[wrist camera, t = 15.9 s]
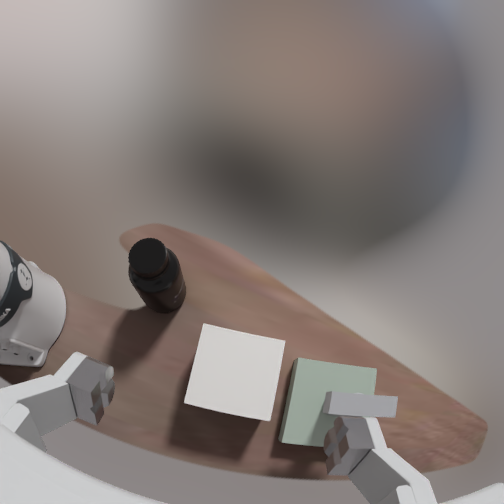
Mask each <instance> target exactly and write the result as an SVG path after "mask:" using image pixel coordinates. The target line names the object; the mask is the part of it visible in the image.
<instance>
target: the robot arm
mask: <svg viewBox="0 0 504 504" xmlns="http://www.w3.org/2000/svg"><path fill="white" fill-rule="evenodd" d="M65 315H66V301H65V296H64V292H63V290H62V287H61V286H60V284H59V283H58V282H57V280H56V279H55V278H53V277H52V276H50V275H48V274H46V273H44V272H42V271H41V270H40V269H39V267H38V266H37V265H36V264H35V263H33V262H27V261H26V260H25V259H23V258H22V257H20V256H19V255H18V254H17V253H16V252H15V251H14V250H12V248H11V247H10V246H9V245H7V244H6V243H4V242H2V241H0V364H5V365H16V366H31V367H41V366H42V365H43V364H44V362H45V360H46V357H47V353H48V350H49V349H50V347H51V346H52V344H53V343H54V342H55V341H56V339H57V338H58V336H59V334H60V332H61V330H62V327H63V324H64V321H65ZM32 357H33V360H32ZM113 375H114V371H113V367H112V366H110V365H107V364H105V363H103V362H100V361H98V360H96V359H93V358H91V357H89V356H86V355H84V354H81V353H79V352H75V353H73V354H72V355H71V356H70V358H69V359H68V360H67V361H66V362H65V363H64V364H63V365H62V367H61V368H60V369H59V370H58V371H57V372H56V373H55V375H54V376H52V375H47V376H44V377H40V378H37V379H33V380H30V381H26V382H23V383H19V384H15V385H12V386H8V387H4V388H0V504H168V503H164V502H161V501H157V500H154V499H151V498H147V497H144V496H141V495H138V494H135V493H132V492H129V491H127V490H124V489H121V488H119V487H116V486H114V485H111V484H109V483H106V482H104V481H101V480H99V479H97V478H94V477H92V476H90V475H88V474H86V473H84V472H82V471H80V470H77V469H75V468H73V467H71V466H69V465H68V464H66V463H64V462H62V461H60V460H58V459H56V458H54V457H53V456H51V455H49V454H47V453H46V451H47V449H46V446H45V444H44V442H43V440H42V438H41V436H43V435H45V434H47V433H49V432H51V431H53V430H55V429H57V428H59V427H61V426H63V425H65V424H67V423H69V422H71V421H73V420H75V419H77V417H78V418H80V419H82V420H85V421H87V422H89V423H92V424H94V425H98V423H99V422H100V420H101V418H102V416H103V415H104V409H103V408H104V407H106V406H109V404H110V403H111V401H112V398H113V395H114V390H115V383H114V381H113V380H112V379H111V378H112V376H113ZM333 423H334V427H333V428H331V429H329V430H328V432H327V434H326V435H325V439H324V452H325V453H326V454H327V456H328V459H327V460H326V468H327V475H348V477H349V478H350V480H351V481H352V482H353V483H354V485H355V486H356V487H357V488H358V490H359V491H360V492H361V493H362V494H363V496H364V497H365V498H366V499H367V500H368V502H369V503H370V504H437V502H436V499H435V496H434V493H433V491H432V487H431V485H430V482H429V480H428V479H427V478H425V477H424V476H423V475H422V474H420V473H419V472H418V471H417V470H416V469H414V468H413V467H412V466H411V465H409V464H408V463H407V462H406V461H405V460H404V459H402V458H401V457H400V456H399V455H398V454H396V453H395V452H394V451H393V450H392V449H387V446H386V443H385V440H384V437H383V434H382V432H381V429H380V426H379V423H378V420H377V419H376V418H371V417H347V416H339V417H337V418H336V419H335V421H334V422H333ZM440 504H504V484H503V483H496V484H493V485H490V486H488V487H486V488H483V489H481V490H478V491H476V492H473V493H470V494H467V495H465V496H462V497H459V498H456V499H453V500H450V501H446V502H443V503H440Z"/></svg>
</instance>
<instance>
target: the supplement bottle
mask: <svg viewBox="0 0 504 504" xmlns="http://www.w3.org/2000/svg"><path fill="white" fill-rule="evenodd" d="M128 258H129V263H130V265H129V278H130V281H131V283H132V284H133V286H134V288H135V289H136V291H137V292H138V294H139V295H140V297H141V298H142V299H143V301H144V302H145V304H146V305H147V306H148V307H149V308H150V309H152V310H153V311H155V312H159V313H168V312H171V311H174V310H175V309H177V308H178V307H179V306H180V305H181V304H182V302H183V301H184V299H185V295H186V286H185V282H184V279H183V275H182V271H181V268H180V264H179V261H178V259H177V257H176V255H175V254H174V253H173V252H172V251H171V250H170V249H168V248H166V247H165V246H164V244H163V243H162V242H161V241H159V240H158V239H155V238H146V239H142V240H140V241H138V242H137V243H136V244H134V246H133V247H132V248H131V250H130V253H129V257H128Z"/></svg>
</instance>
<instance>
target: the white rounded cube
mask: <svg viewBox="0 0 504 504" xmlns="http://www.w3.org/2000/svg"><path fill="white" fill-rule="evenodd" d="M284 345H285V341H283V340H278V339H273V338H268V337H263V336H258V335H253V334H248V333H244V332H239V331H234V330H230V329H226V328H221V327H217V326H213V325H208V324H203V328H202V332H201V336H200V340H199V344H198V348H197V351H196V355H195V359H194V363H193V367H192V372H191V376H190V380H189V384H188V388H187V392H186V396H185V400H184V403H186V404H190V405H194V406H198V407H202V408H206V409H210V410H214V411H219V412H223V413H228V414H233V415H238V416H243V417H248V418H254V419H260V420H266V421H270V419H271V414H272V409H273V404H274V399H275V394H276V389H277V384H278V378H279V373H280V368H281V362H282V357H283V351H284Z"/></svg>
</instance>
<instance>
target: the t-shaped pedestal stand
mask: <svg viewBox="0 0 504 504" xmlns="http://www.w3.org/2000/svg"><path fill="white" fill-rule="evenodd" d="M376 373H377V369H375V368H367V367H358V366H351V365H343V364H336V363H329V362H323V361H316V360H310V359H304V358H297V359H295V360H294V364H293V369H292V375H291V380H290V385H289V390H288V396H287V401H286V406H285V410H284V415H283V420H282V425H281V429H280V434H279V438H278V440H279V441H280V442H282V443H289V444H298V445H308V446H320V447H324V439H325V435H326V434H327V432H328V430H329V429H331V428H333V427H334V423H333V422H334V421H335V419H336V418H337V417H339V416H347V417H395V414H396V407H397V400H398V397H397V396H379V395H374V389H375V381H376Z"/></svg>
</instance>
